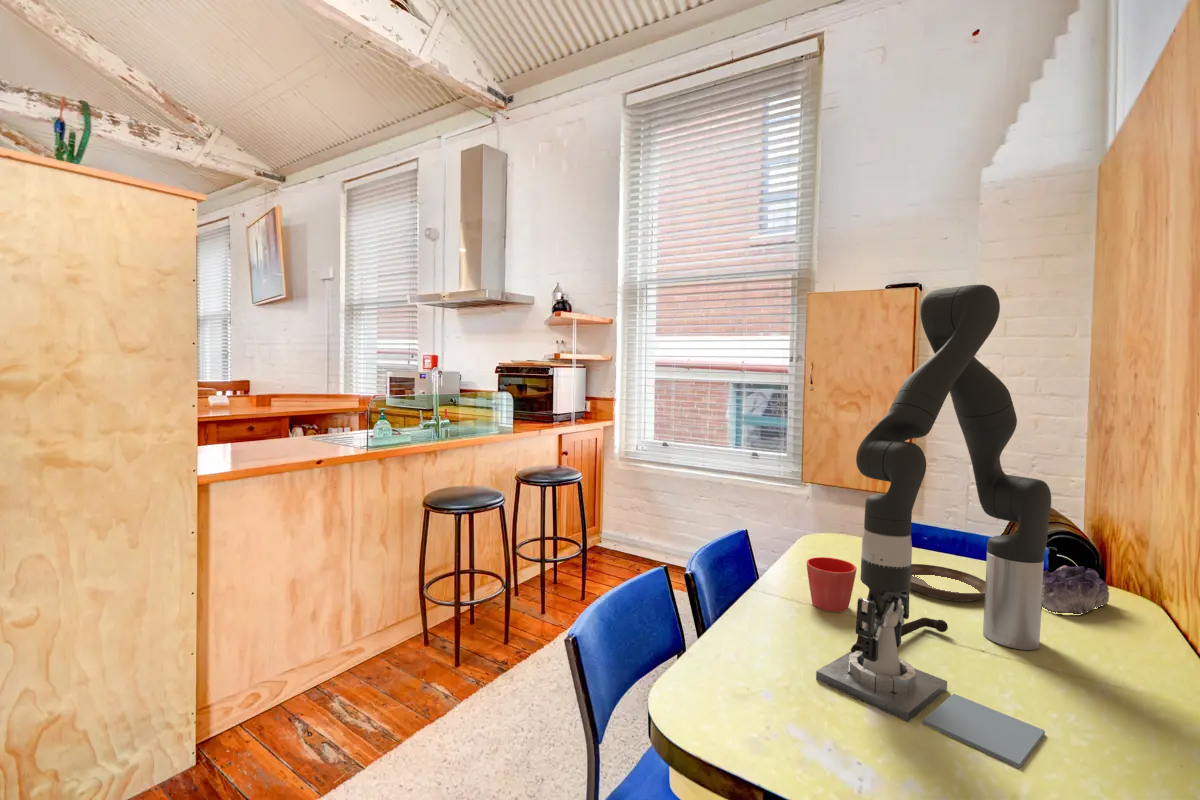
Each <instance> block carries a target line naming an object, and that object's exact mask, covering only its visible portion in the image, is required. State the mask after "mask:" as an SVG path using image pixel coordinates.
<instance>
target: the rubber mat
mask: <svg viewBox="0 0 1200 800" xmlns="http://www.w3.org/2000/svg"><path fill="white" fill-rule="evenodd" d="M922 724H923V725H924V726H927V727H928V728H932V729H934V730H935V731H938V732H939V733H942V734H944V735H947V736H948V737H951V738H953V739H955V740H957V741H959V742H962V743H964V744H966V745H968V746H970V747H972V748H975V749H976V750H979V751H981V752H983V753H985V754H988V755H989V756H992V757H994V758H995V759H998V760H999V761H1003V762H1005V763H1006V764H1009V765H1011V766H1013V767H1015V768H1018V769H1020V768H1021V767H1022V766H1023V764H1024V763H1025V762H1026V761H1027V760H1028V757H1030V755H1031V754H1032V753H1033V751H1034V750H1035V749H1036V747H1037V746H1038V745H1039V743H1040V741H1041V740H1042V739H1043V737H1044V736H1045V735H1046V730H1045V729H1043V728H1040V727H1037V726H1035V725H1033V724H1030V723H1028V722H1025V721H1022V720H1020V719H1018V718H1015V717H1013V716H1010V715H1008V714H1006V713H1003V712H1000V711H998V710H996V709H993V708H990V707H988V706H986V705H984V704H981V703H979V702H975V701H974V700H971V699H968V698H965V697H963V696H960V695H958V694H956V693H953V694H951V695H950V696H949V697H948V698H947V699H945V700H944V701H943V702H942V703H941V704H940V705H938V706H937V708H935V709H934V710H932V712H930V713H929V714H928V715H927V716H926V717H924V719H922Z"/></svg>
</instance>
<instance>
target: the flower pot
mask: <svg viewBox="0 0 1200 800" xmlns="http://www.w3.org/2000/svg"><path fill="white" fill-rule="evenodd" d="M806 571H807V576H808V578H807V580H808V587H809V593H810V598H811V603H812V605H813V606H814V607H816V608H817V609H819V610H822V611H825V612H831V613H843V612H846V611H847V610H849V606H850V602H851V599H852V595H853V589H854V585H855V579H856V574H857V567H856V565H855V564H854V563H852V562H850V561H846V560H843V559H841V558H835V557H834V558H833V557H825V556H821V557H818V556H817V557H811V558H809V559H807V560H806Z"/></svg>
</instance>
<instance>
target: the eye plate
mask: <svg viewBox="0 0 1200 800" xmlns="http://www.w3.org/2000/svg"><path fill="white" fill-rule="evenodd" d="M862 653H863V652H859V651H855V652H854V653H852V652H851V650H850V651H849V652H847V653H845V654H843V655H842V656H840V657H838V658H836V659H834V660H833V661H831V662H829V663H828V664H826V665H824V666H822V667H821V668H819V669H817V670H816V672H815V680H816V681H818V682H820V683H822V684H825V685H827V686H829V687H831V688H834V689H836V690H837V691H840V692H842V693H845V695H848V696H851V697H853V698H854V699H856V700H859V701H861V702H864V703H865V704H868V705H870V706H872V707H874V708H877V709H878V710H880V711H883V712H884V713H887V714H889V715H891V716H894V717H896V718H897V719H899V720H902V721H904V722H906V723H909V722H911V721H912V720H913V719H914V718H916V717H917V716H918V715H919V714H920V713H921V712H923V711H924V710H925V709H926V708H927V707H928V706H930V705H931V704H932V703H933V702H934V701H936V700H937V699H938V698H939V697H940V696H942V695H943V694H944V693H945V692H947V690H948V680H946V679H943V678H940V677H937V676H935V675H933V674H930V673H928V672H925V671H922V670H920V669H917V668H915V667H914V666H913V665H912V664H910V663H909V662H907V661H906V660H905V659H903V658H901V657H899V656H898V658H899V665H900V672H901V676H886V675H881V674H876V673H874V672H872V671H869V670H867V669H865V668H864V667H862V666H863V662H864V657H863V655H862Z"/></svg>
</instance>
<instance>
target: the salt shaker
mask: <svg viewBox="0 0 1200 800" xmlns="http://www.w3.org/2000/svg"><path fill="white" fill-rule="evenodd" d="M875 619H877V620H880V619H878V618H876V617H875ZM897 623H898V615H897V614H896V612H895V611H893V612H892V613H890V615H889V618H888V621H887V624H886V627H885V628H882V629H881V632H880V635H879V638H878V639H879V642H878V660H877V661H875V662H872V661H870V660H867V659H865V658H864V662H863V666H862V667H864V668H865V669H867V670H869V671H872V672H874V673H876V674H881V675H886V676H901V672H900V665H899V658H900V657H899V652H898V647H897V645H896V638H895V631H894V627H895V626H896V625H897ZM875 627H876V625H875V626H874V630H875ZM898 657H899V658H898Z"/></svg>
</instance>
